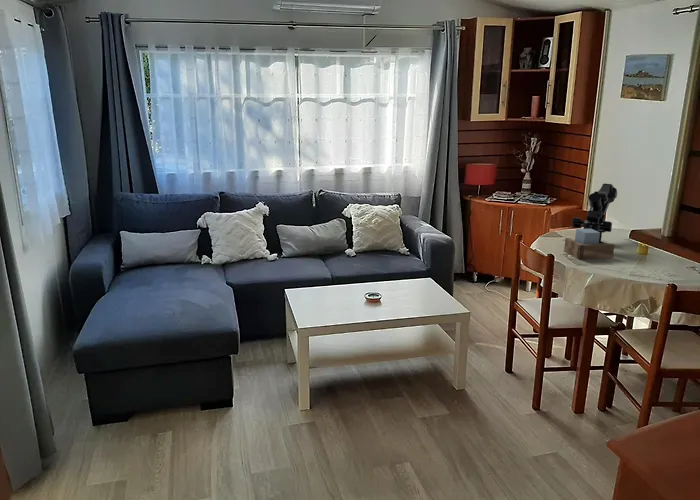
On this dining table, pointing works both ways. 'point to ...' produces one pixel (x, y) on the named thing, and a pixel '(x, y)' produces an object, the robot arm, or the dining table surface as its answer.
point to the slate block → (587, 236)
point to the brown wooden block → (588, 250)
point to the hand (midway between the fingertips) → (588, 238)
